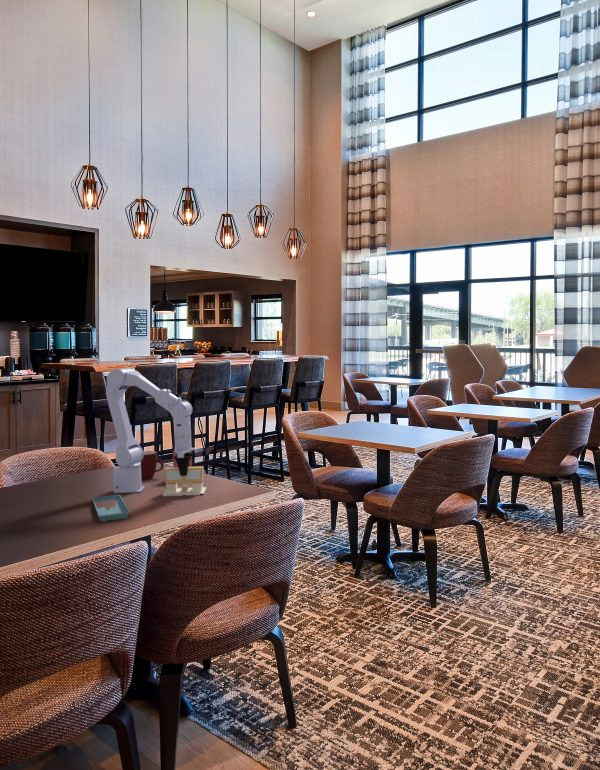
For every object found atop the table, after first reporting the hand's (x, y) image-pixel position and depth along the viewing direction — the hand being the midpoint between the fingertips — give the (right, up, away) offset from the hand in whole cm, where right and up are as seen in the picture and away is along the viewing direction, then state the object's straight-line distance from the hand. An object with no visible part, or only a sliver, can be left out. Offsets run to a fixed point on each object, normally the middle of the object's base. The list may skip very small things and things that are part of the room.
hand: (184, 474), depth 220 cm
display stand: (0, -6, 0) cm, 6 cm away
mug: (-18, -5, +26) cm, 32 cm away
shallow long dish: (-20, -9, -20) cm, 30 cm away
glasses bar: (0, -3, 0) cm, 3 cm away
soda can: (-5, -5, +24) cm, 25 cm away
